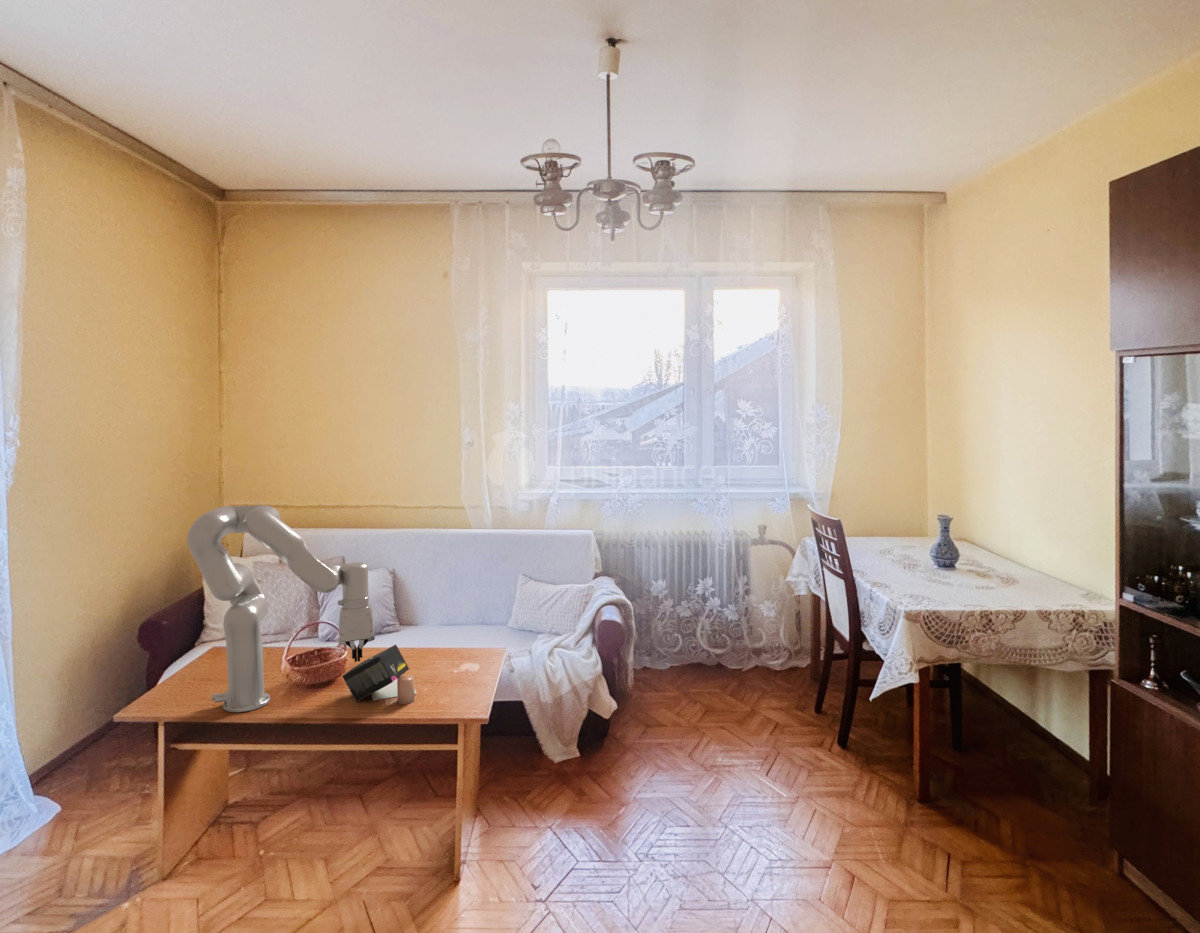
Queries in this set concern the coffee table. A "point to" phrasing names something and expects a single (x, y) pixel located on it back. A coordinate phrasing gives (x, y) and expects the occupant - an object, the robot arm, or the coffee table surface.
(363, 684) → the tampon box
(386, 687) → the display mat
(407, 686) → the peg
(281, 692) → the coffee table surface
